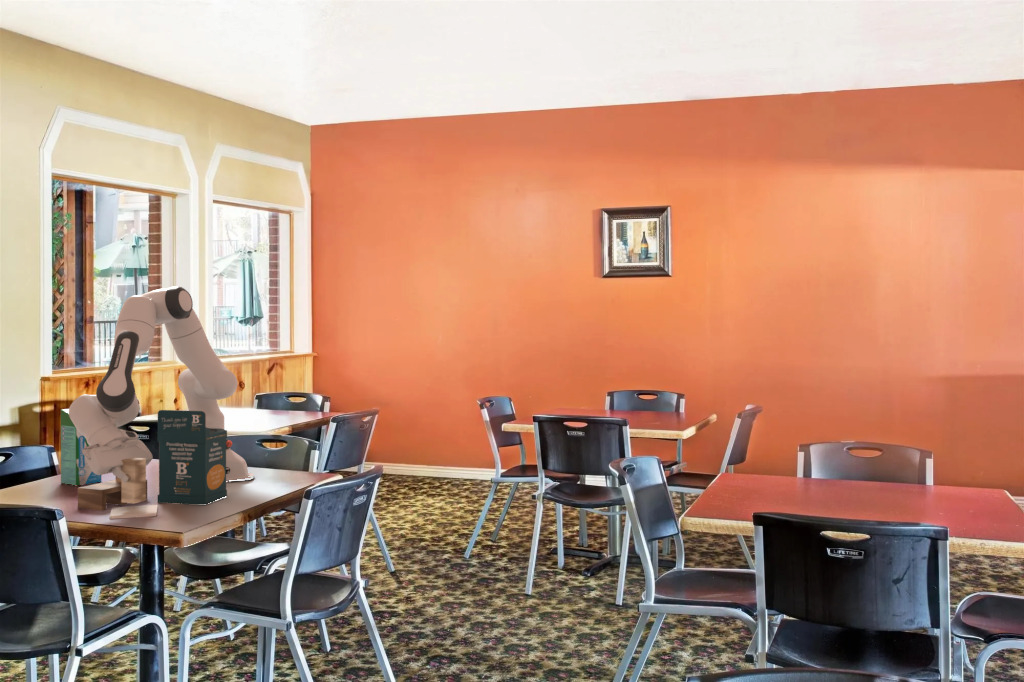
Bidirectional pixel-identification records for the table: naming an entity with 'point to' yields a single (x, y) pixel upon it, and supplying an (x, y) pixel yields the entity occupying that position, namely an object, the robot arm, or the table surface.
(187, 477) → the donation box
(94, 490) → the walnut shelf
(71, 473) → the milk carton
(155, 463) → the table surface
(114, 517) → the ceramic tile
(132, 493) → the block
